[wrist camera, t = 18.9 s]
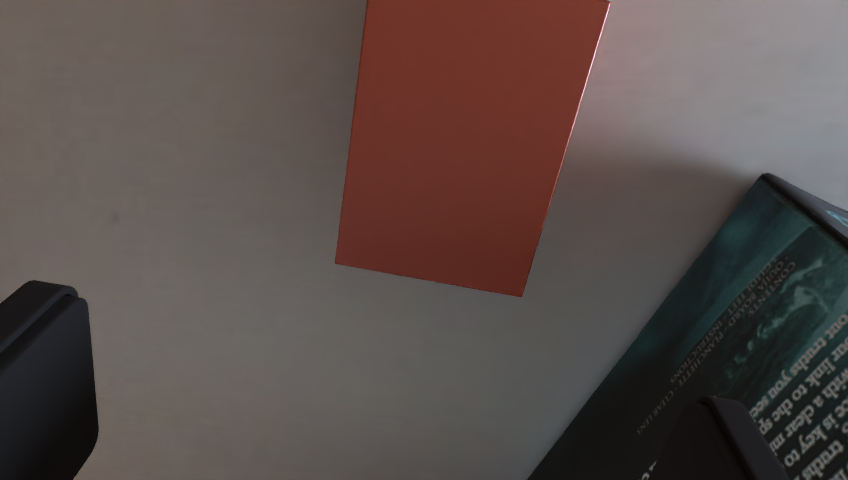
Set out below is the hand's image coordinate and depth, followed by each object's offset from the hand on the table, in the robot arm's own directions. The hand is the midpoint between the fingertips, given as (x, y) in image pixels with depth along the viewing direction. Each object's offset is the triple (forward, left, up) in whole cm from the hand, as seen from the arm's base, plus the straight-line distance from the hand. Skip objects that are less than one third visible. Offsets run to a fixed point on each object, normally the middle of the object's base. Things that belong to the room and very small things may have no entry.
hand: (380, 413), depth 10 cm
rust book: (+1, +1, -13) cm, 13 cm away
